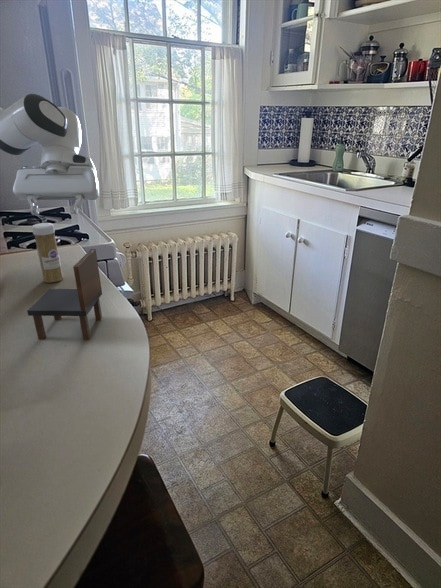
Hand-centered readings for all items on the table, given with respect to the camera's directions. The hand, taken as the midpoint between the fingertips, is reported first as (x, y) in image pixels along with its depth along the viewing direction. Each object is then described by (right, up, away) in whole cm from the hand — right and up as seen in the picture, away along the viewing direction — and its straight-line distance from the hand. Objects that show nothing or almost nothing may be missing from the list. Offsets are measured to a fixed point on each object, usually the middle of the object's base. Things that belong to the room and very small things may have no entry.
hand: (54, 213), depth 95 cm
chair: (+13, -26, -23) cm, 37 cm away
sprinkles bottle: (0, -16, -1) cm, 16 cm away
